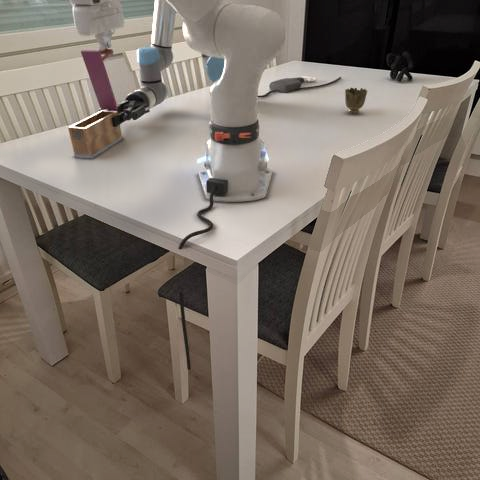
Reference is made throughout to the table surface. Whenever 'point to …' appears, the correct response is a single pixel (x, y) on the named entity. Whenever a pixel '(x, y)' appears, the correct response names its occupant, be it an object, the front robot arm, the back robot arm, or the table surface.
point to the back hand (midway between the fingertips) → (104, 121)
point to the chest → (94, 134)
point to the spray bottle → (289, 83)
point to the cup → (355, 99)
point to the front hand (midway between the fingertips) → (105, 48)
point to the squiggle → (399, 66)
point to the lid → (100, 77)
